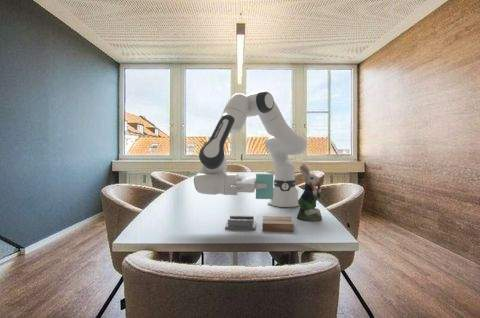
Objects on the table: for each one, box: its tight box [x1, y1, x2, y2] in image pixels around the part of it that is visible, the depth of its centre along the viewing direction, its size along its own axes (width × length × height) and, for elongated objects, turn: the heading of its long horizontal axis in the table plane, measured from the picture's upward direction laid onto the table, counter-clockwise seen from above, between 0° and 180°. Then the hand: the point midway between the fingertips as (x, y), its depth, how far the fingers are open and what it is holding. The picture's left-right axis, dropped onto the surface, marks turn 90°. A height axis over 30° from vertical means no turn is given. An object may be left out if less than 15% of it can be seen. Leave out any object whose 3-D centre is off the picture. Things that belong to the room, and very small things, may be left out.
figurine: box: [296, 163, 323, 222], centre depth 143 cm, size 11×13×25 cm
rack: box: [224, 214, 257, 231], centre depth 130 cm, size 10×12×4 cm
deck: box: [261, 215, 294, 233], centre depth 129 cm, size 12×12×3 cm
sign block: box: [255, 173, 274, 200], centre depth 128 cm, size 3×7×10 cm, turn 85°
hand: (266, 185), depth 128 cm, fingers closed on sign block, 3 cm apart
